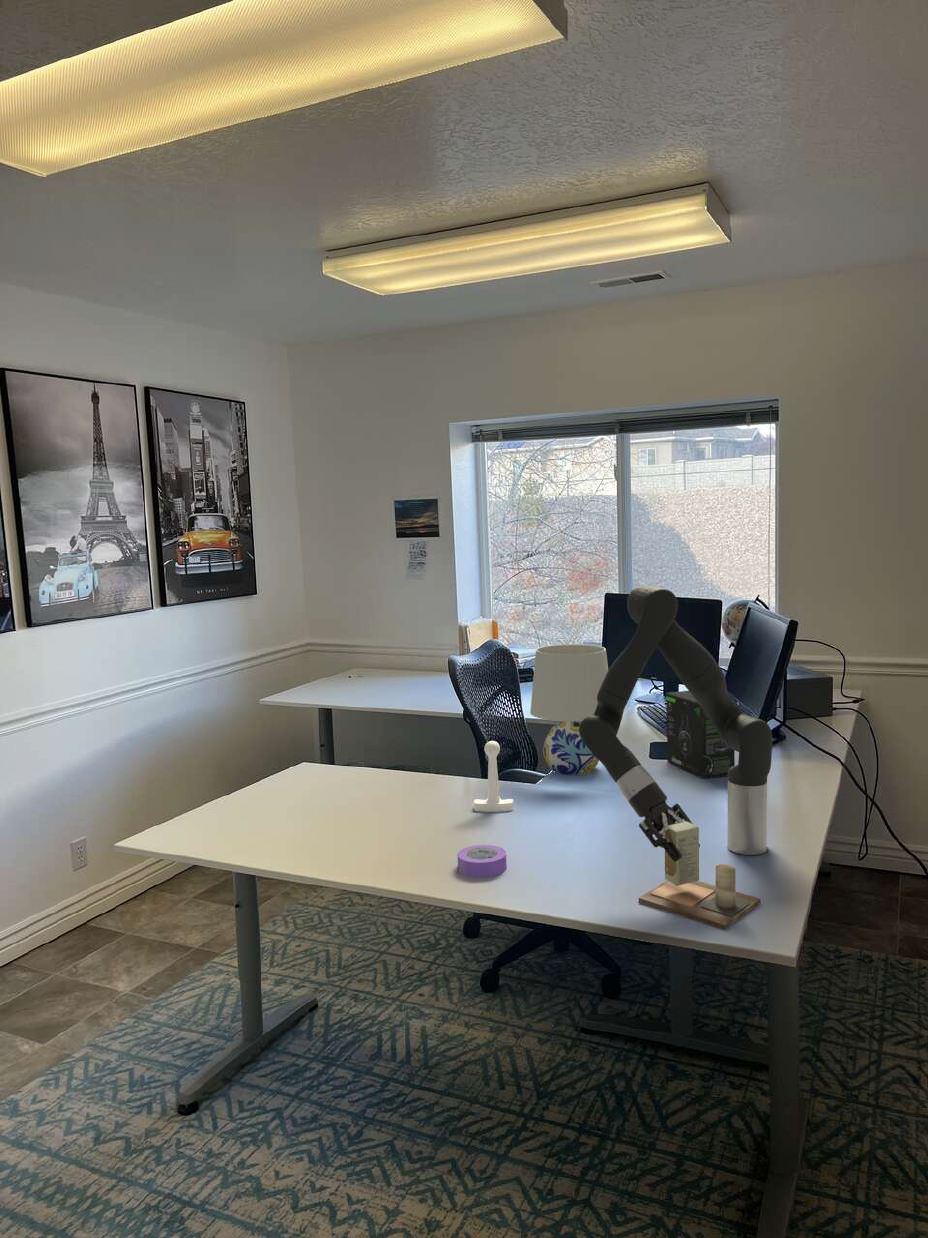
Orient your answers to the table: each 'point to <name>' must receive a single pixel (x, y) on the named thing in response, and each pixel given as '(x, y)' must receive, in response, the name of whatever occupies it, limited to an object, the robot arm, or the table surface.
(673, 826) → the skincare box
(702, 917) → the board
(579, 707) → the table lamp
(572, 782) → the table surface
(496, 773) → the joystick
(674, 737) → the headset box
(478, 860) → the masking tape
